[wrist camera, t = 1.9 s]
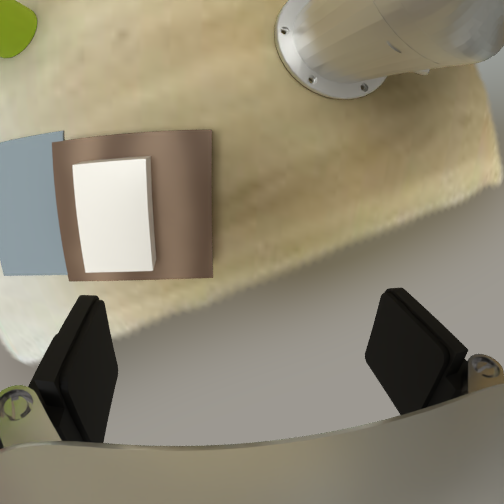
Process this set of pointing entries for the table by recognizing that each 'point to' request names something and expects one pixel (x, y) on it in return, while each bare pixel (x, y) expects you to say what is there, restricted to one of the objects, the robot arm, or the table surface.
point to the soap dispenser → (15, 27)
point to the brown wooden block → (163, 200)
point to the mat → (29, 208)
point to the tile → (115, 214)
